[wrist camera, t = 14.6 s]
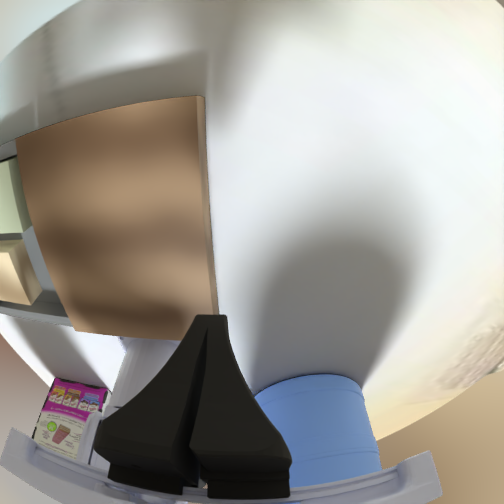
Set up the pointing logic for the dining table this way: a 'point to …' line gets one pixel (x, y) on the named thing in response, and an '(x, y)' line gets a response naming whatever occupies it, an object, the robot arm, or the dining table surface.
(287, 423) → the water jug
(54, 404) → the candy bar box
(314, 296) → the dining table surface
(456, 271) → the dining table surface
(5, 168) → the sage tile
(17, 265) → the ash block
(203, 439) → the robot arm
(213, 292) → the walnut board
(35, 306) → the tray
